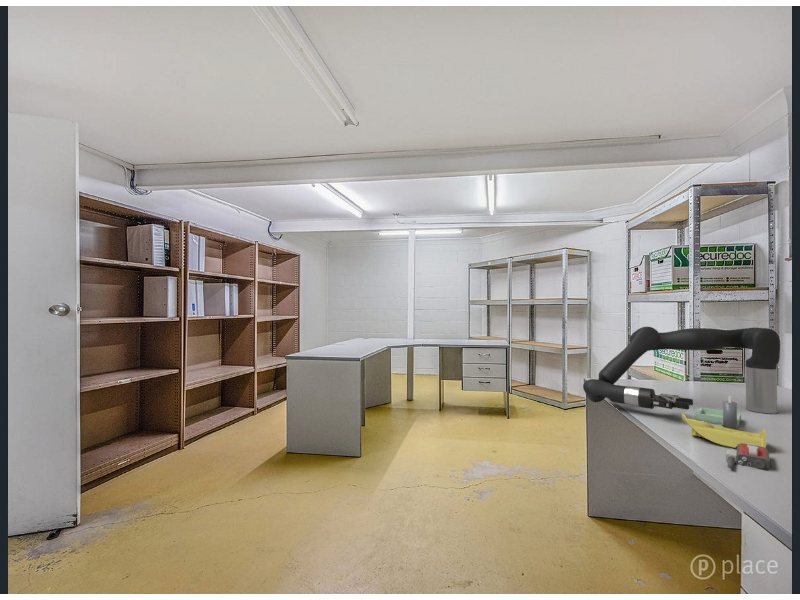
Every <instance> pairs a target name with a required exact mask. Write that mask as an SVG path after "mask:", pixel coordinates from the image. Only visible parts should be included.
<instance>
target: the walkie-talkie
mask: <svg viewBox="0 0 800 600" xmlns="http://www.w3.org/2000/svg"><path fill="white" fill-rule="evenodd" d="M725 461H726V462H727V468H728V469H730V470H733V469H734V464H737V465H740V466H745V467H751V468H756V469H761V470H765V471H770V470H771V467H772V462H771V458H770V453H769V449H767V448H764V447H761V446H758V445H754V444H748V443H747V444H744V443H741V444H737V446H736V448H734V449H733V448H732V449H727V450H726V453H725Z"/></svg>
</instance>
